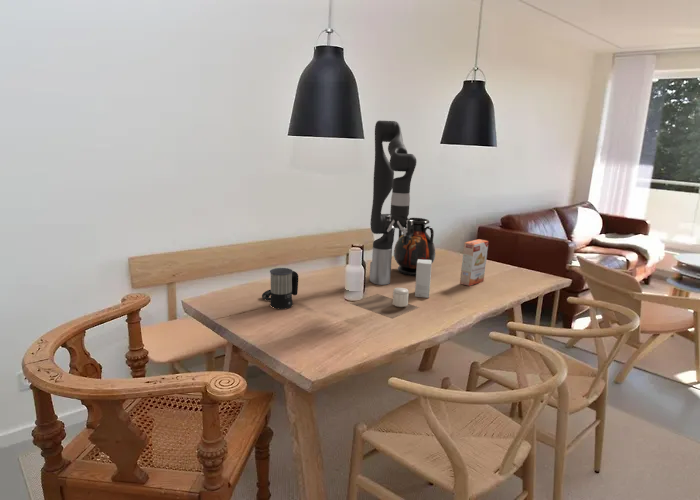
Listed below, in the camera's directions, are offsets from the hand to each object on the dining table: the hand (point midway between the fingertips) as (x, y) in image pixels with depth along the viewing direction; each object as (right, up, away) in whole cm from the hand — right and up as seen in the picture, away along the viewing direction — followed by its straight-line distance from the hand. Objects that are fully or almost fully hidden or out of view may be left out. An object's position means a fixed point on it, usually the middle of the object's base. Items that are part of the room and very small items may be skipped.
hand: (397, 242), depth 196 cm
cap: (+1, -25, -3) cm, 25 cm away
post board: (-6, -27, -2) cm, 28 cm away
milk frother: (-50, -25, 0) cm, 56 cm away
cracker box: (+41, -19, +39) cm, 60 cm away
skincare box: (+13, -23, +18) cm, 32 cm away
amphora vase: (+13, -15, +53) cm, 57 cm away
